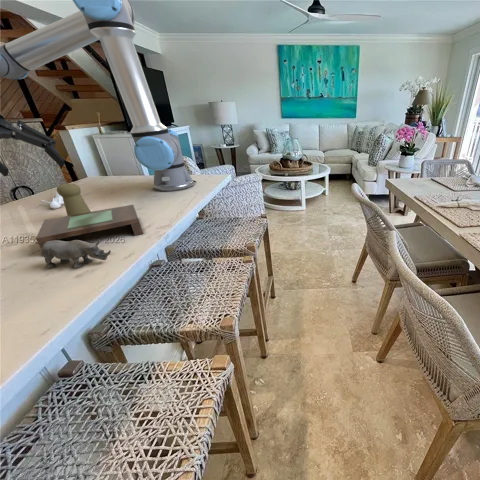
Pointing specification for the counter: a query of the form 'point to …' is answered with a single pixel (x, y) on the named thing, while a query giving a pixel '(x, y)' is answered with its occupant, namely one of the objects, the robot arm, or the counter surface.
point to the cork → (72, 199)
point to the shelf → (88, 223)
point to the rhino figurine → (72, 252)
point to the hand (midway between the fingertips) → (36, 168)
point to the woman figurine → (55, 201)
